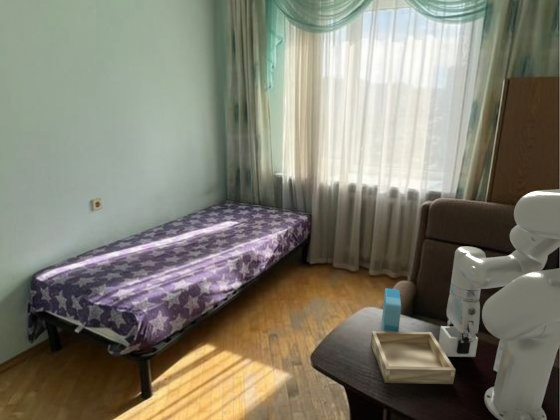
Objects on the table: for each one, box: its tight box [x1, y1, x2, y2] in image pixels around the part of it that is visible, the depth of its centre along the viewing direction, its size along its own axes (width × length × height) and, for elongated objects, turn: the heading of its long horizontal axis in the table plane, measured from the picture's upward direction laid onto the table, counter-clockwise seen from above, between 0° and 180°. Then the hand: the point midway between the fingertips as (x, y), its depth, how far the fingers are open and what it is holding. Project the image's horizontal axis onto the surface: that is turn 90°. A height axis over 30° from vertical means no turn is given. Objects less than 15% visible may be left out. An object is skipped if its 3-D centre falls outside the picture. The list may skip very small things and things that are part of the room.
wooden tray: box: [370, 330, 456, 385], centre depth 100 cm, size 16×18×4 cm
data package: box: [381, 287, 402, 332], centre depth 115 cm, size 12×4×12 cm, turn 165°
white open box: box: [438, 325, 479, 358], centre depth 104 cm, size 6×8×6 cm
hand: (456, 345), depth 104 cm, fingers closed on white open box, 6 cm apart
